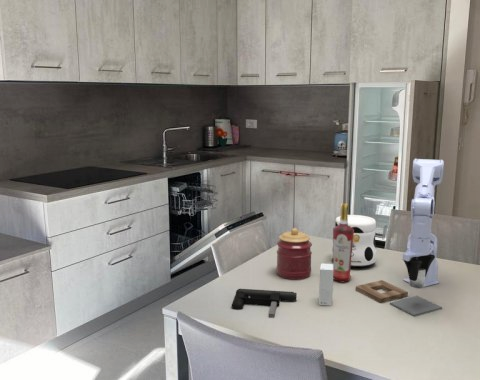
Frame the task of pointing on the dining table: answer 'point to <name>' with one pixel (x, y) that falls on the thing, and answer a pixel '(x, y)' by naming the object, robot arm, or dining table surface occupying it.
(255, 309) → the dining table surface
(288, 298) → the door handle
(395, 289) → the bore plate
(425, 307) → the rubber mat
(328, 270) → the skincare box
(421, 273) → the end cover
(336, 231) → the liquor
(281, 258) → the canister
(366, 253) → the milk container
